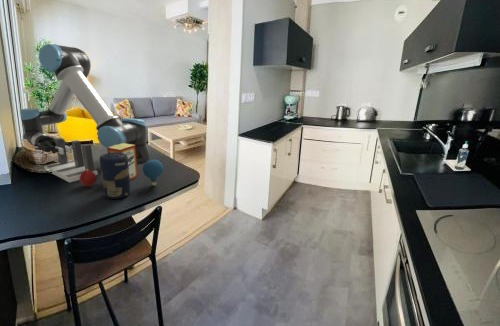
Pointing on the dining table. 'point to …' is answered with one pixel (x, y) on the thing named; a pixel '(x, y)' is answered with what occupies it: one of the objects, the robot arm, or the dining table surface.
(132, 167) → the baking soda box
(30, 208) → the dining table surface
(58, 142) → the block
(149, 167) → the light bulb
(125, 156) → the dark blue cylinder
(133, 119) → the robot arm
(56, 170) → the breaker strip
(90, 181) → the pomegranate
